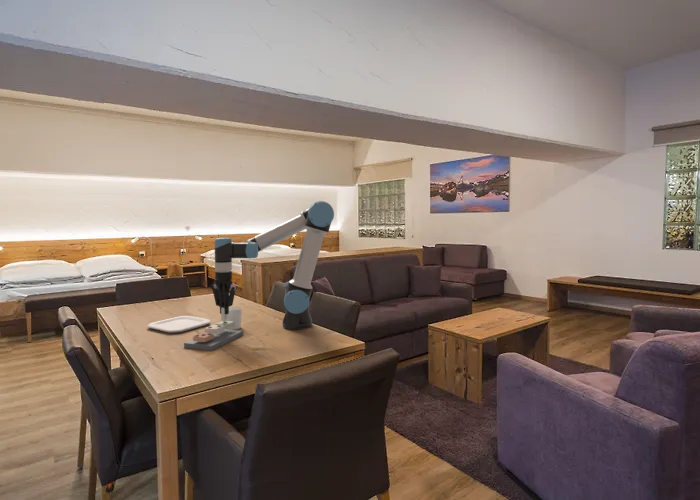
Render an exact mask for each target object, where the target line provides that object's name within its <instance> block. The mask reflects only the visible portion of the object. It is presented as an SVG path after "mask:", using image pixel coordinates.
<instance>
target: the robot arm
mask: <svg viewBox="0 0 700 500" xmlns="http://www.w3.org/2000/svg"><path fill="white" fill-rule="evenodd" d="M334 218H335V210H334V207H332V205H331V204H330V203H329V202H326V201H323V200H318V201H315V202H313V203H312V204H311V205H310V206H309V207H308V208H307V209H304V210H303V211H301V212H300V214H299V215H297V216H295V217H293V218H290V219H289V220H287V221H285V222H282V223H281V224H279V225H277V226H273V227H272V228H270V229H268V230H266V231H264V232H262V233H260V234H258V235H256V236H253V237H252V238H249V239H246V240H245V241H243V242H241V241H239V242H238V241H237V242H235V241H233V240H232V238H231V237H218V238H215V239H214V270H215V271H214V279H215V283H214V284H213V285H210V288H211V290H212V294H213V297H214V301H215V303H214V304H215V305H216V306H217V307H219V314H221V315H220V317H221V321H222V322H225V321H227V320H228V314H229V308H230V307H233V304H234V299H235V293H236V291H237V289H238V286H237V285H234V284H233V282H232V280H233V271H232V270H233V265H232V264H233V263H232V262H233V261H232V259H249V260H250V259H257V258H258V255H259V252H261V251H263V250H265V249H267V248H270V247H271V246H273V245H275V244H277V243H279V242H282V241H284V240H286V239H287V238H290V237H292V236H294V235H296V234H298V233H300V232H302V231H305V230H306V232H305V235H304V239H303V242H302V246H301V250H300V253H299V258H298V260H297V263H296V267H295V270H294V274H293V278H292V279H290V280H289V281H286V282H285V286H284V289H285V290H284V291H285V292H284V293H285V294H284V297H283V305H284V307H285V308H284V309H285V313H284V316H283V319H282V328H284V329H287V330H295V331H296V330H297V331H299V330H305V329H309V328H311V327H312V326H313V320H312V316H311V313H310V311H309V307H310V298H311V295H312V292H313V288H314V287H313V286H312V284H311V283H312V280H313V276H314V272H315V269H316V266H317V262H318V259H319V255H320V251H321V248H322V245H323V240H324V238H325V235H327V234H328V233H329V232H330V229H331V226H332V225H331V224H332V223H333V220H334ZM221 321H220V322H221Z"/></svg>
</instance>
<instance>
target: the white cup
mask: <svg viewBox="0 0 700 500" xmlns="http://www.w3.org/2000/svg"><path fill="white" fill-rule="evenodd" d="M242 311H243V309H242V307H240V306H229V314H228V320H227V321H234V326H233V327H230V328H228V329H230V330H241V328H242Z"/></svg>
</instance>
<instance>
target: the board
mask: <svg viewBox="0 0 700 500" xmlns="http://www.w3.org/2000/svg"><path fill="white" fill-rule="evenodd" d="M212 334H214V333H212ZM242 336H244V330H241V329H236V330H230V329H224V331H221V332H219V333H217V334H214V338H213V339H211V340H209V341H207V342H197V341H193V338H192V339H189V340H188V341H185V342H184V343H183V348H185V349H187V348H188V349H194V350H195V349H196V350H203V351H204V350H205V351H213V350H214V351H215V350H216V349H218V348H220V347H222V346H223V345H226V344H228V343H230V342H232V341H233V340H237V339H238V338H240V337H242Z"/></svg>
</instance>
